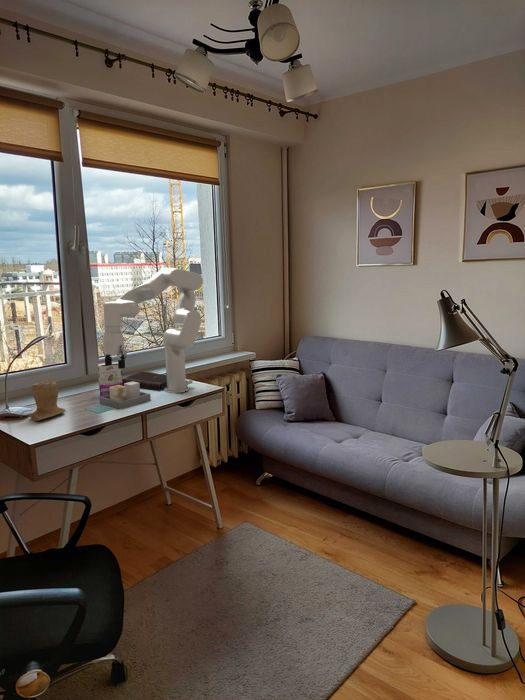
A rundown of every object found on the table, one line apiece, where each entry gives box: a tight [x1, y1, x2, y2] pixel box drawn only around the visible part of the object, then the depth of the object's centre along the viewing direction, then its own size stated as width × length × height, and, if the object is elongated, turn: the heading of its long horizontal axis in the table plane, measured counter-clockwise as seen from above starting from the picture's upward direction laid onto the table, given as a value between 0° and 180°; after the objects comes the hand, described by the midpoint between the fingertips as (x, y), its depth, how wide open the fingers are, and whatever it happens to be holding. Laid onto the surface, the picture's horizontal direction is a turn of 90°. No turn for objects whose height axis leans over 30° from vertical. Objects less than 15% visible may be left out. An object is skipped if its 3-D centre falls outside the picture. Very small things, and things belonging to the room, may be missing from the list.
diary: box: [122, 370, 167, 392], centre depth 263 cm, size 19×25×5 cm
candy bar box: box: [96, 361, 124, 398], centre depth 242 cm, size 11×5×16 cm, turn 112°
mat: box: [84, 404, 114, 415], centre depth 221 cm, size 8×10×1 cm
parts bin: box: [99, 390, 152, 410], centre depth 232 cm, size 18×15×4 cm
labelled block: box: [109, 385, 126, 402], centre depth 228 cm, size 5×5×8 cm
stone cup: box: [28, 381, 67, 422], centre depth 212 cm, size 15×12×15 cm
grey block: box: [124, 381, 141, 400], centre depth 234 cm, size 5×5×8 cm
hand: (115, 366), depth 225 cm, fingers open, 9 cm apart
